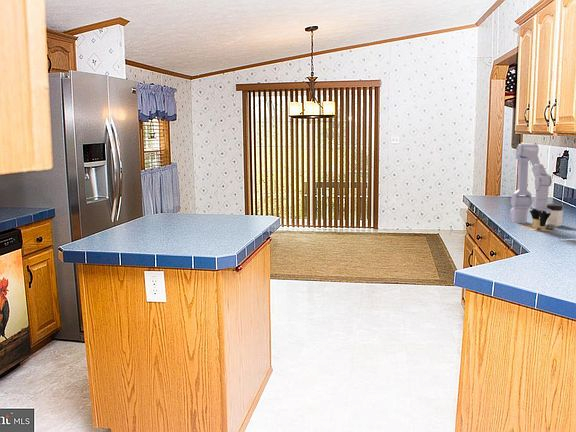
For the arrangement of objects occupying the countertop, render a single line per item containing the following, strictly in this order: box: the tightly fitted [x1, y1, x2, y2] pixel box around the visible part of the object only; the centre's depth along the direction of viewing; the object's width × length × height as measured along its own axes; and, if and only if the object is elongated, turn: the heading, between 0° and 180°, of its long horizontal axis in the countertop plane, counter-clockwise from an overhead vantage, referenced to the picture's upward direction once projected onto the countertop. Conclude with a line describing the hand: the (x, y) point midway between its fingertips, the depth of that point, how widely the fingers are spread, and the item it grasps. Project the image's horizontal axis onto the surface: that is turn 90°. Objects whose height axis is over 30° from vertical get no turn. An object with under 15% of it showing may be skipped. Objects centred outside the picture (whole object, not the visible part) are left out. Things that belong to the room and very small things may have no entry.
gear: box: [545, 223, 556, 230], centre depth 277 cm, size 5×5×3 cm
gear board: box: [519, 224, 559, 232], centre depth 280 cm, size 16×13×4 cm
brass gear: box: [531, 217, 546, 228], centre depth 275 cm, size 5×5×4 cm
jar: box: [546, 203, 564, 227], centre depth 290 cm, size 9×8×12 cm
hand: (538, 225), depth 276 cm, fingers closed on brass gear, 5 cm apart
